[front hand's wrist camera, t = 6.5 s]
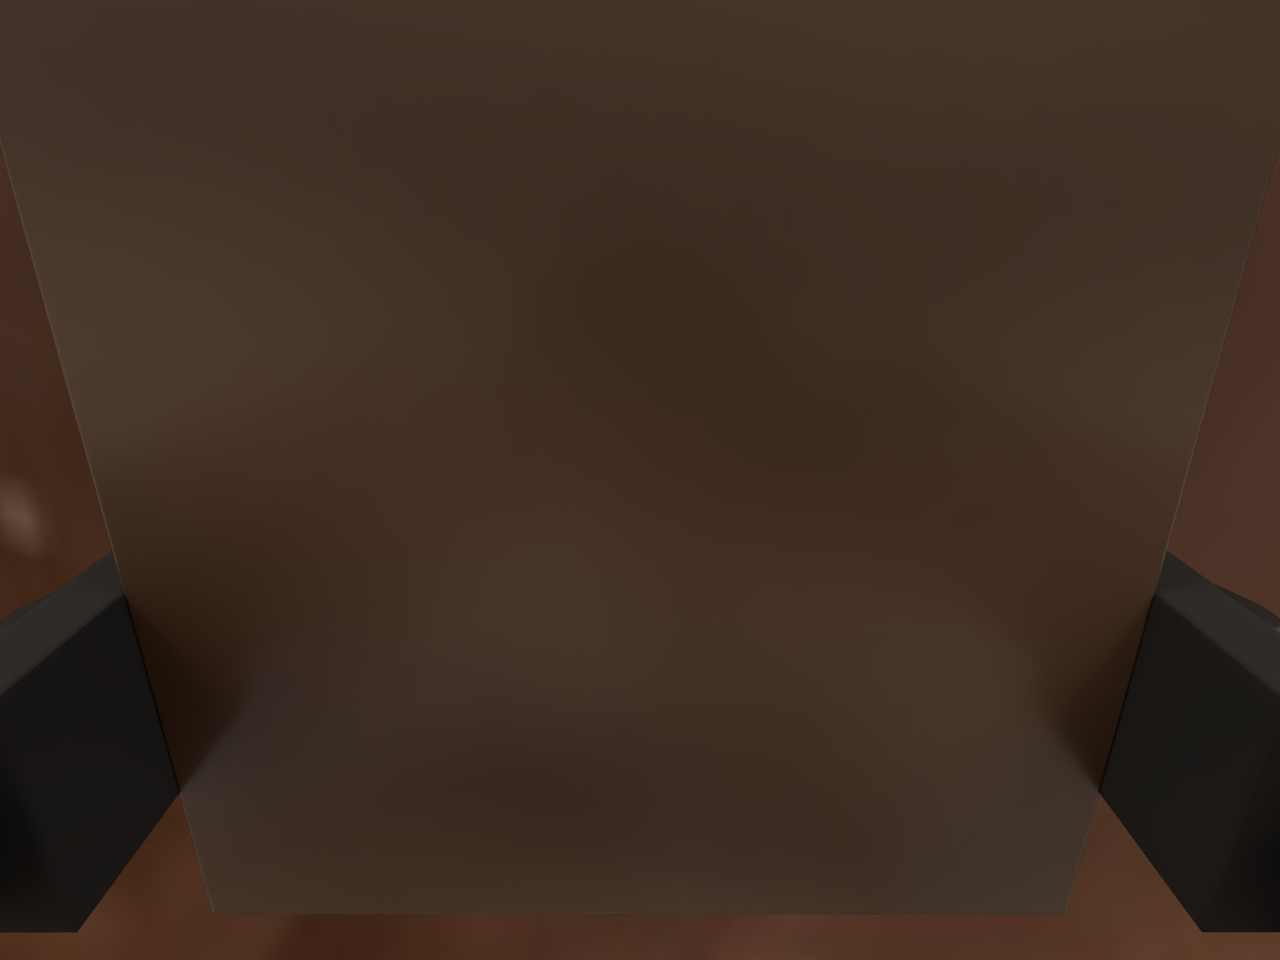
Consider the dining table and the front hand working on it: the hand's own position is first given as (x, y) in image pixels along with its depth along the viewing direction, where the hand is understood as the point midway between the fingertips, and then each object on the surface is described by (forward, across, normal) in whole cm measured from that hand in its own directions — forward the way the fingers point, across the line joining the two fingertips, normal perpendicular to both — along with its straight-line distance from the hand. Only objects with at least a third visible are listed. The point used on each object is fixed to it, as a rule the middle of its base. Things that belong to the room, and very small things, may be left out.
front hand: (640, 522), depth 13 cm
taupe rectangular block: (+5, 0, -6) cm, 8 cm away
